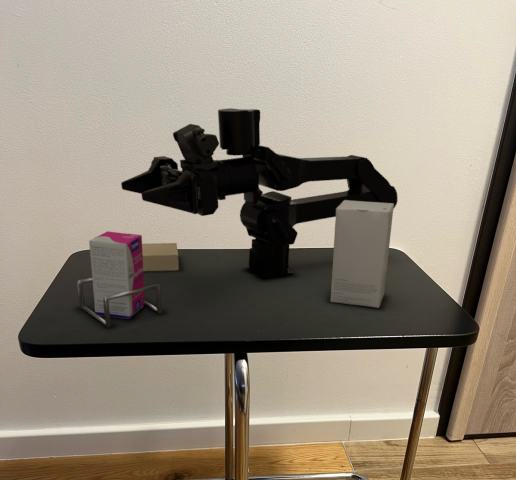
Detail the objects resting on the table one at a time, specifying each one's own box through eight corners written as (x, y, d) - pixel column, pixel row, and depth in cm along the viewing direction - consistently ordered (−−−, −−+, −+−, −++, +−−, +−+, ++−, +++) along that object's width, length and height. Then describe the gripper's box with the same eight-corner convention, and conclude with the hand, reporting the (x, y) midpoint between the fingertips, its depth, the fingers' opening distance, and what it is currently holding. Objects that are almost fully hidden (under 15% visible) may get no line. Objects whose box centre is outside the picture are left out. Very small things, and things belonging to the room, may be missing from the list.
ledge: (177, 257, 108) (176, 242, 106) (178, 270, 100) (178, 254, 99) (114, 259, 106) (113, 244, 104) (112, 272, 98) (110, 256, 97)
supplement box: (131, 320, 79) (125, 243, 74) (94, 315, 81) (85, 240, 75) (147, 305, 85) (142, 233, 80) (111, 301, 86) (104, 230, 81)
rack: (132, 295, 88) (130, 268, 86) (162, 313, 82) (161, 284, 80) (79, 308, 83) (76, 280, 81) (107, 328, 77) (104, 297, 75)
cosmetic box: (384, 296, 91) (397, 203, 84) (378, 310, 86) (392, 211, 79) (335, 289, 94) (344, 198, 87) (327, 302, 88) (335, 205, 81)
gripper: (195, 120, 92) (104, 128, 85) (250, 130, 78) (146, 141, 71) (200, 187, 97) (115, 200, 90) (252, 208, 83) (156, 225, 76)
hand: (131, 191), depth 82 cm, fingers open, 9 cm apart
